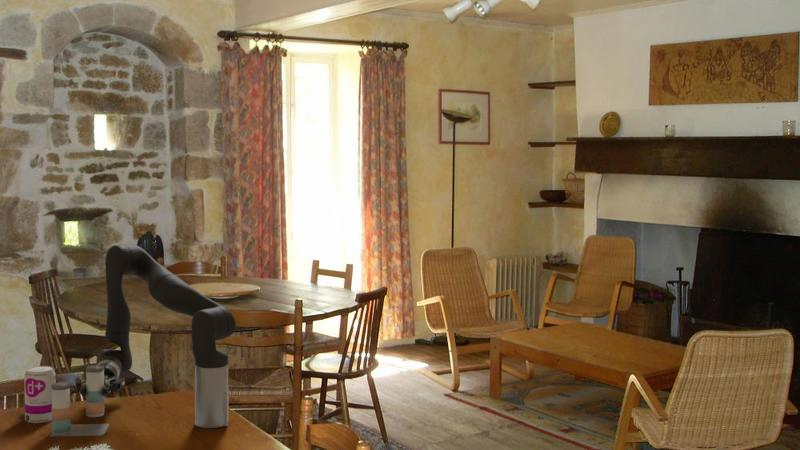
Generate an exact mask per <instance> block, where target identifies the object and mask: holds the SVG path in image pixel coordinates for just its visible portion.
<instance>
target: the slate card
mask: <svg viewBox="0 0 800 450" xmlns="http://www.w3.org/2000/svg"><path fill="white" fill-rule="evenodd" d="M109 426H110V423H84V424H83V423H81V424H79V423H75V424H71V430H70V433H69V434H66V435H53V434H52V432H51V433H50V434H49V435H48V436H49V437H52V438H53V437H84V436H85V437H87V436H88V437H89V436H90V437H91V436H93V437H94V436H99V437H100V436H104V435H105V433H106V432H107V429H108V428H109Z"/></svg>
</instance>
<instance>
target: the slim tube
mask: <svg viewBox="0 0 800 450" xmlns="http://www.w3.org/2000/svg"><path fill="white" fill-rule="evenodd" d="M85 372H86V375H85V377H86V378H85V379H86V395H85V414H86V416H87V417H88V418H97V417H98V418H99V417H102V416H105V396H102V388H103V387H104V366H102V365H97V364H92V365H88V366H85Z"/></svg>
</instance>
